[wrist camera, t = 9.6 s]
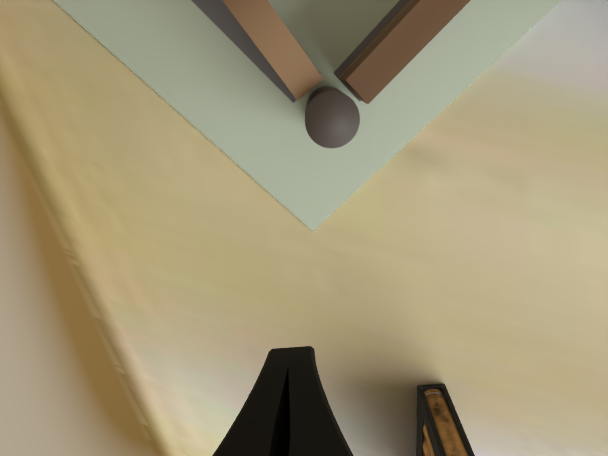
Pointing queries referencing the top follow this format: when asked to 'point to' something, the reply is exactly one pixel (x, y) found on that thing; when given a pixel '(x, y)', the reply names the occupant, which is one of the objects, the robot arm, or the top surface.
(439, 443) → the ammunition clip
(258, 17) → the fence gate
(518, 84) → the top surface
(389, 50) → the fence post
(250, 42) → the card
